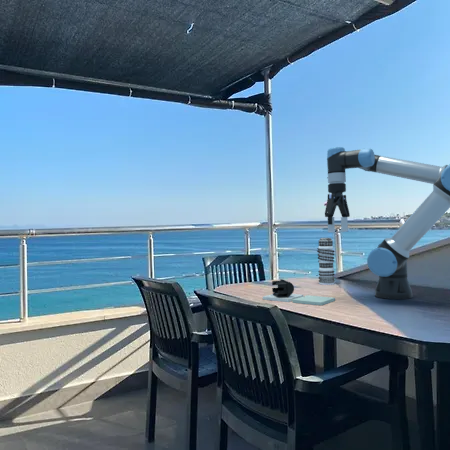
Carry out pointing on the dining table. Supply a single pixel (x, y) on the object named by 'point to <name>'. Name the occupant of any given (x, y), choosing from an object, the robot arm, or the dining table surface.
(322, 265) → the decorative candle
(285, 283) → the end cap
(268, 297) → the pale blue mat
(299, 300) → the sage mat
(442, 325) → the dining table surface
